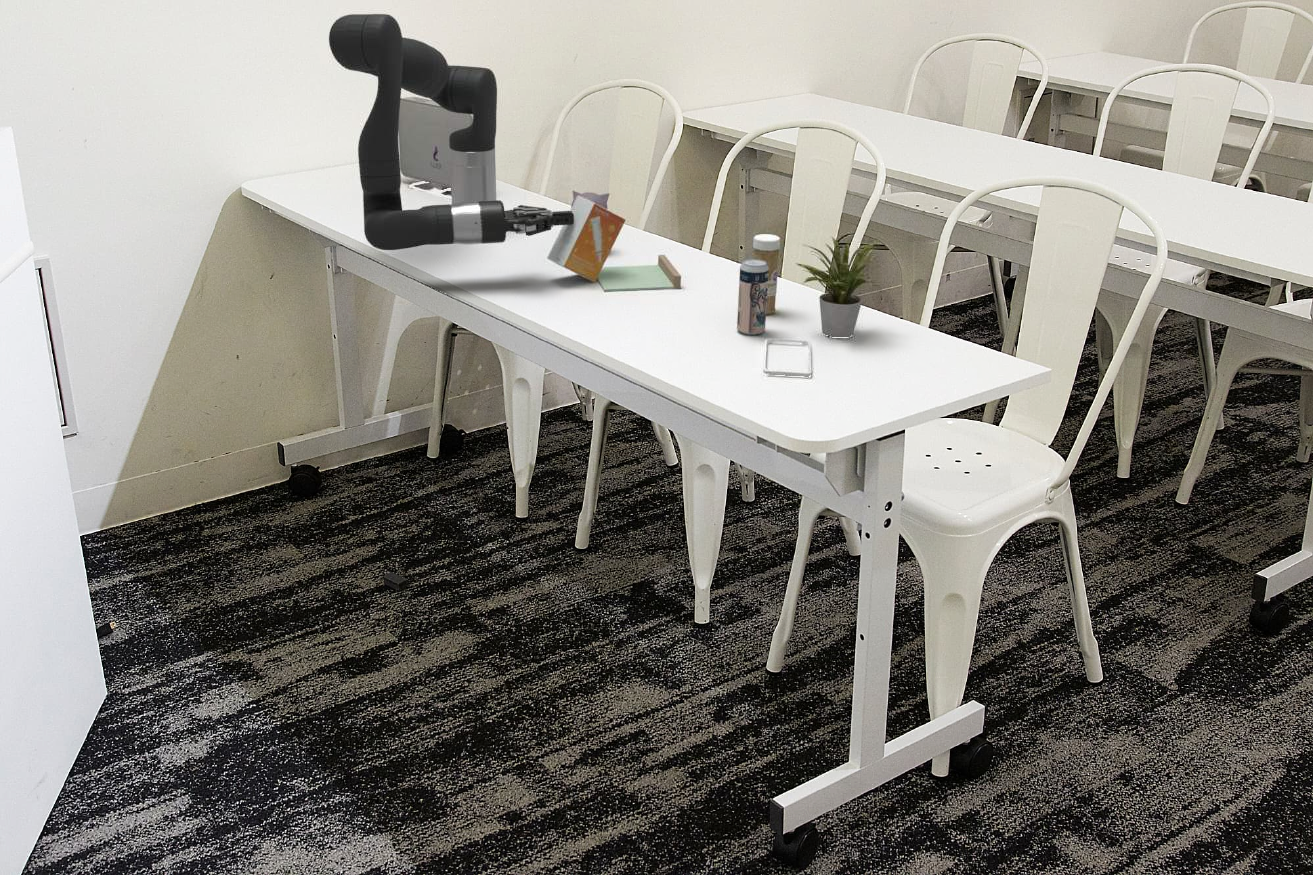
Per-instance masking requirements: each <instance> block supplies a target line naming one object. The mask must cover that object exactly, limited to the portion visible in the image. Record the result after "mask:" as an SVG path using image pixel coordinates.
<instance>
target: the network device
mask: <svg viewBox="0 0 1313 875" xmlns="http://www.w3.org/2000/svg"><path fill="white" fill-rule="evenodd" d="M472 123H473V114H463V113H455V112H450V111H448V110H446V109H444V108H443V107H441V106H440V105H439V104H437V103H436V102H434V101H433V100H431V99H430V98H425V97H418V96H417V97H416V96H407V97H401V99H400V111H399V126H398V144H399V159H400V172H401V175H402V176H403V177H406V178H410V179H413V180H417V181H425V182H429V183H428V184H432V185H433V187H432V188H436V189H438V190H444V189H447V188H451V171H450V147H449V137H450V134H451V133H453V132H455V131H458V130H461V129H464V128H467V127H469V126H471V125H472Z"/></svg>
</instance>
